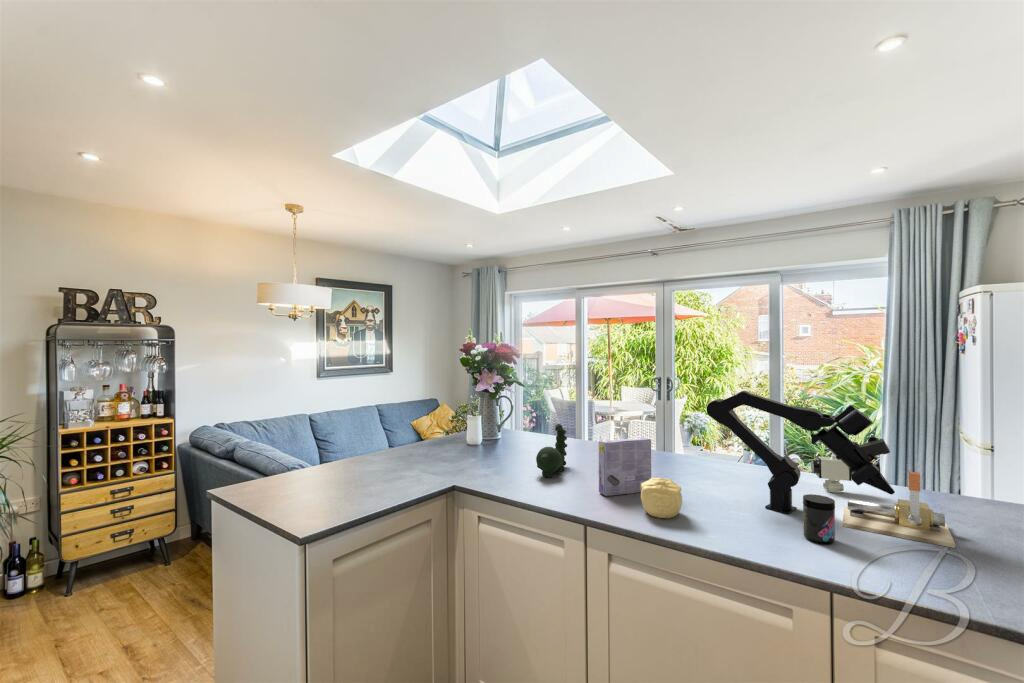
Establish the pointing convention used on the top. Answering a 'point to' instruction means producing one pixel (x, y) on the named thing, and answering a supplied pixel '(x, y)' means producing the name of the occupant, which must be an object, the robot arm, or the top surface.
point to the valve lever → (914, 498)
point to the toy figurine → (553, 455)
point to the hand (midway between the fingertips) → (893, 493)
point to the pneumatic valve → (831, 472)
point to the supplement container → (819, 519)
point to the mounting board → (897, 529)
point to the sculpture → (661, 497)
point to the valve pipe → (898, 513)
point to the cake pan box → (624, 465)
